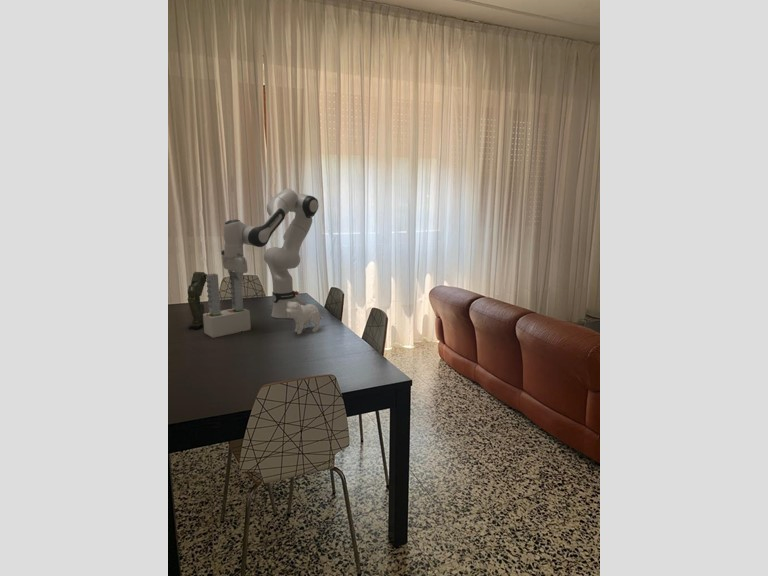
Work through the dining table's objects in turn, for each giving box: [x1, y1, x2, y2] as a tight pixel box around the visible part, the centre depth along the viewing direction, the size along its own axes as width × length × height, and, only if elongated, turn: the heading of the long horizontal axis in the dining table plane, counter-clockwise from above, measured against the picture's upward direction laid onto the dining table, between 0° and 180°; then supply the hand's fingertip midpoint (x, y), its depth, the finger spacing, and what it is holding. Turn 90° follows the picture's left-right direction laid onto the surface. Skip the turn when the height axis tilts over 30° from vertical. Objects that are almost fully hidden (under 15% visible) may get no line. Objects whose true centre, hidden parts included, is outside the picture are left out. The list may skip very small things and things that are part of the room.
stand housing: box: [203, 307, 252, 338], centre depth 225 cm, size 20×10×11 cm, turn 134°
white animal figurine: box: [286, 301, 324, 335], centre depth 226 cm, size 25×10×17 cm, turn 141°
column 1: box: [205, 273, 222, 317], centre depth 217 cm, size 4×4×22 cm
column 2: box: [229, 271, 244, 312], centre depth 226 cm, size 4×4×22 cm
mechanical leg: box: [187, 271, 207, 331], centre depth 231 cm, size 14×7×30 cm, turn 169°
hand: (236, 279), depth 224 cm, fingers open, 8 cm apart
